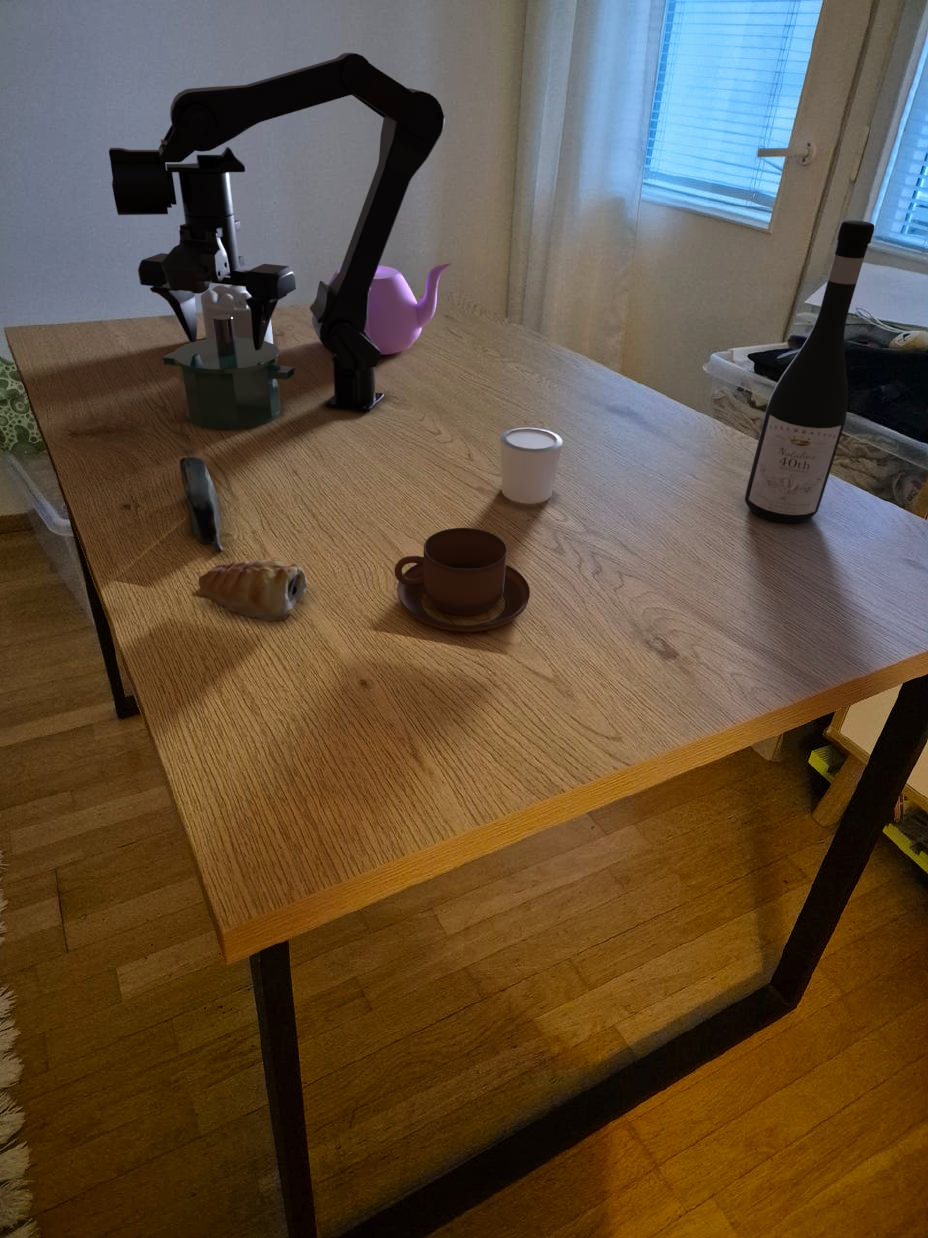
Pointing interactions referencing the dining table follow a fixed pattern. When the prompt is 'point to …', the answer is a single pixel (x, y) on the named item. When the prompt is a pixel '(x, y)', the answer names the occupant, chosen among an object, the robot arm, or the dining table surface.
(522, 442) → the white lidded cup
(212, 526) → the black long curved piece
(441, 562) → the cup and saucer
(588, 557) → the dining table surface
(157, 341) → the dining table surface
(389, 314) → the teapot
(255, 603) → the pastry
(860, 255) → the wine bottle
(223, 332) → the lid
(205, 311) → the lumpy-topped squat cylinder
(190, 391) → the pot
